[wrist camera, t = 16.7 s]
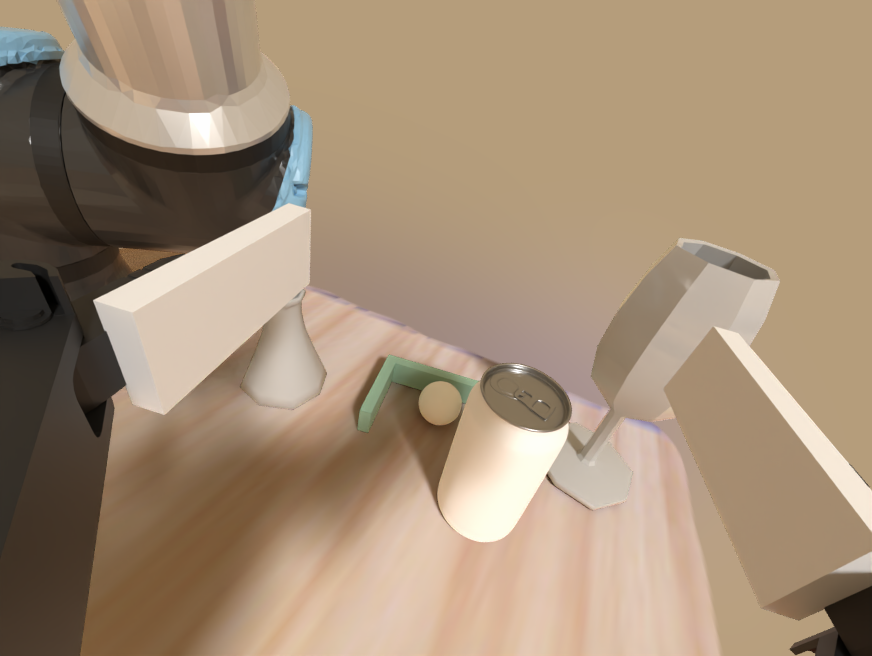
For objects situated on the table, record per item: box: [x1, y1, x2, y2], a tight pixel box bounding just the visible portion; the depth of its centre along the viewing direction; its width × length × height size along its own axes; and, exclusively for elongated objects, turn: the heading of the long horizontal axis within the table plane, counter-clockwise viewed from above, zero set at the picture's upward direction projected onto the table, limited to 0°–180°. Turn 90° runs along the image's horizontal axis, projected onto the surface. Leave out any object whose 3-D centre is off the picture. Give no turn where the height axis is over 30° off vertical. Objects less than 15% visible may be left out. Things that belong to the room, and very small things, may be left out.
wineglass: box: [547, 238, 780, 511], centre depth 28 cm, size 9×9×21 cm
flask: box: [240, 289, 327, 410], centre depth 32 cm, size 7×7×10 cm
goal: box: [357, 355, 479, 433], centre depth 35 cm, size 8×13×2 cm, turn 78°
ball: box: [418, 381, 462, 425], centre depth 34 cm, size 4×4×4 cm
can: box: [437, 363, 572, 542], centre depth 26 cm, size 6×6×12 cm
